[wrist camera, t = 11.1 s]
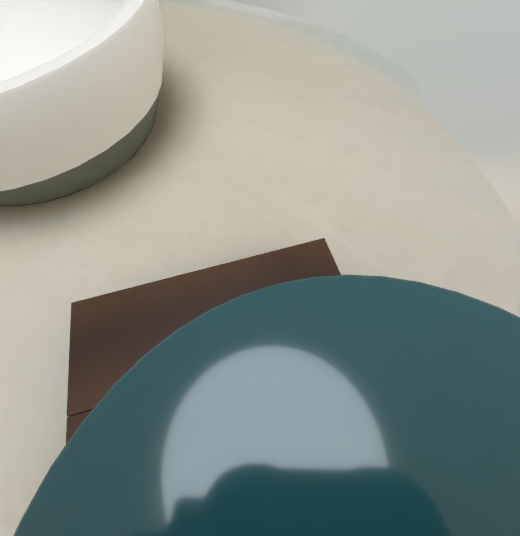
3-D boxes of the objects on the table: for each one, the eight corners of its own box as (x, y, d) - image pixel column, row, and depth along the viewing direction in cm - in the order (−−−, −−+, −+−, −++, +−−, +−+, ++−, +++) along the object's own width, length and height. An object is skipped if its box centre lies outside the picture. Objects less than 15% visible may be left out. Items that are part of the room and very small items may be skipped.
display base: (524, 623, 11) (587, 671, 9) (99, 784, 10) (46, 888, 7) (347, 254, 18) (356, 229, 16) (97, 319, 17) (71, 302, 15)
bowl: (34, 42, 33) (-36, -71, 25) (228, 70, 28) (210, -58, 21) (-160, 197, 23) (-367, 85, 16) (90, 277, 18) (-35, 172, 11)
